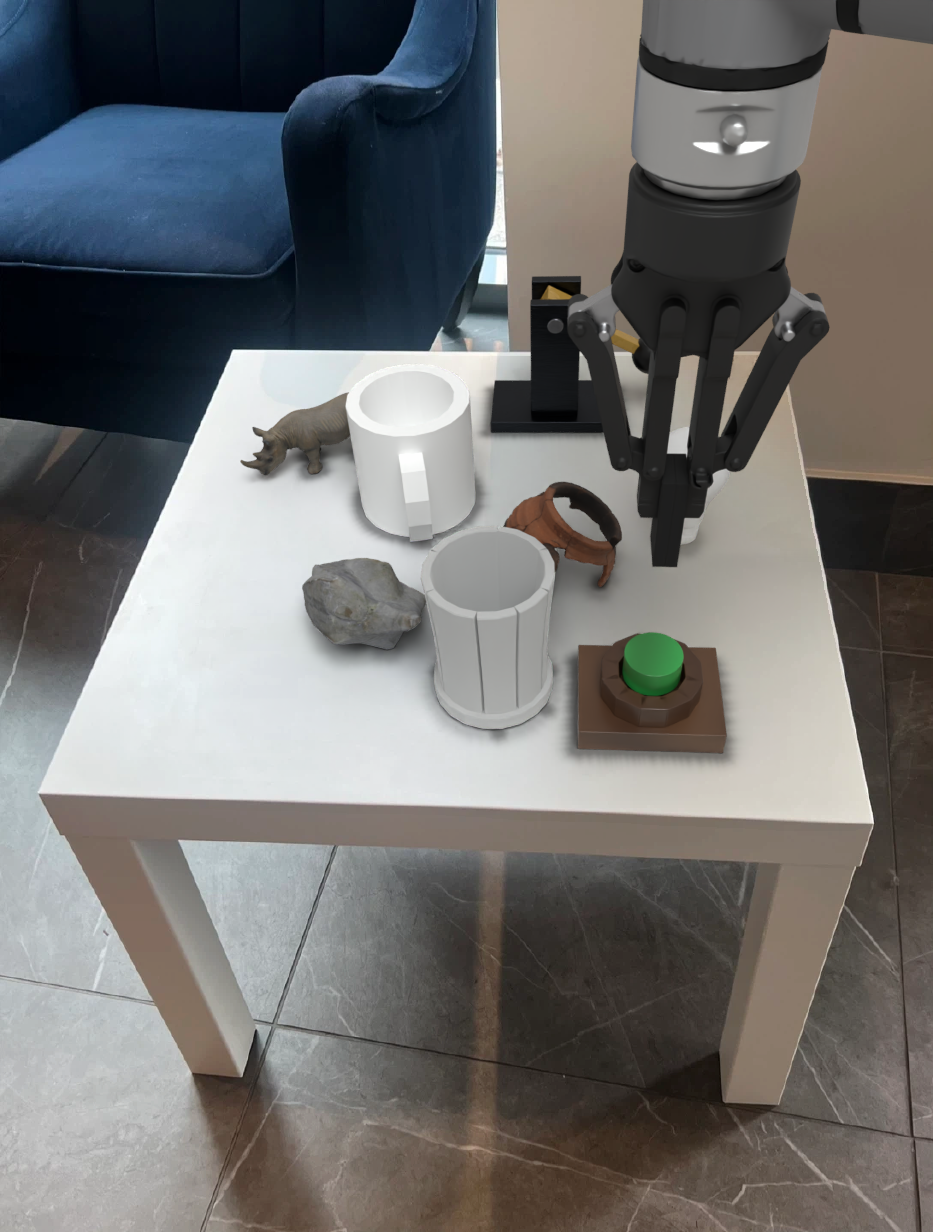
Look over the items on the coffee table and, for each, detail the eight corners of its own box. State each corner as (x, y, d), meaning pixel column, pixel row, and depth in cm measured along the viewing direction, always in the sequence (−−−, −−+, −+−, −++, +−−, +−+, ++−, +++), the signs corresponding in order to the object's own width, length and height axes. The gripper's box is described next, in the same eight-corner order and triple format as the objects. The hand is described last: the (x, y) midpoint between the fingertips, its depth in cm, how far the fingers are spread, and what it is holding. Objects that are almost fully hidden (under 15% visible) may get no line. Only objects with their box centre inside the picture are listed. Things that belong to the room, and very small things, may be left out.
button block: (712, 665, 75) (719, 628, 72) (723, 753, 69) (731, 718, 66) (577, 662, 76) (579, 626, 73) (577, 748, 70) (579, 714, 67)
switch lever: (656, 365, 95) (677, 336, 93) (658, 387, 93) (680, 357, 90) (533, 307, 92) (552, 275, 89) (531, 328, 89) (551, 295, 87)
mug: (490, 554, 84) (485, 453, 77) (369, 571, 84) (351, 470, 76) (467, 456, 94) (461, 356, 86) (358, 470, 93) (342, 371, 85)
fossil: (462, 622, 79) (456, 548, 73) (401, 702, 74) (389, 629, 68) (347, 576, 83) (332, 503, 78) (281, 649, 78) (260, 577, 72)
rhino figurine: (239, 474, 94) (224, 421, 89) (373, 427, 97) (365, 374, 93) (254, 498, 91) (239, 445, 87) (391, 449, 95) (383, 395, 90)
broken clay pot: (505, 525, 87) (554, 456, 82) (592, 590, 87) (647, 525, 82) (451, 590, 78) (502, 516, 73) (548, 663, 78) (607, 594, 73)
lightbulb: (665, 507, 87) (677, 401, 79) (730, 533, 85) (750, 426, 76) (630, 548, 84) (639, 442, 76) (696, 576, 81) (713, 468, 73)
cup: (393, 698, 74) (373, 583, 66) (453, 617, 80) (442, 501, 71) (519, 750, 70) (517, 636, 62) (574, 662, 76) (578, 545, 67)
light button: (678, 652, 71) (681, 632, 70) (682, 697, 68) (685, 677, 67) (621, 651, 72) (623, 631, 70) (623, 695, 69) (625, 675, 67)
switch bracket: (615, 390, 100) (623, 269, 90) (617, 432, 95) (626, 310, 85) (495, 390, 101) (490, 271, 91) (490, 432, 96) (485, 311, 87)
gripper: (566, 204, 42) (556, 593, 60) (885, 200, 41) (780, 598, 59) (568, 131, 47) (557, 509, 65) (851, 126, 46) (764, 512, 64)
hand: (663, 551), depth 62 cm, fingers closed
